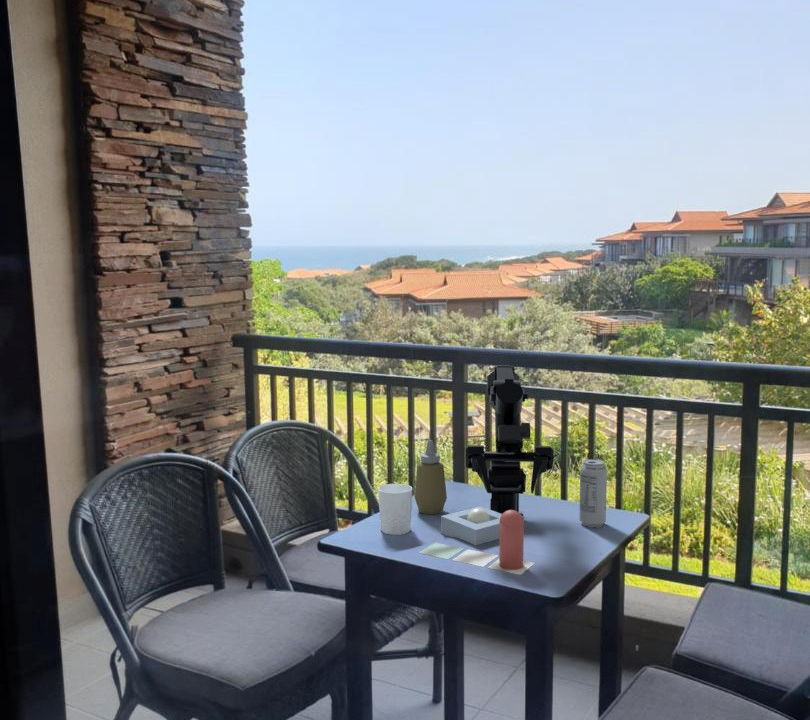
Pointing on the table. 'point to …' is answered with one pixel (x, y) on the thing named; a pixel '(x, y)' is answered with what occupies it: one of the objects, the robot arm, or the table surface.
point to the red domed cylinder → (511, 540)
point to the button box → (471, 526)
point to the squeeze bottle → (430, 482)
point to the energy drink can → (593, 493)
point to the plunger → (478, 516)
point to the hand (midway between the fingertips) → (510, 492)
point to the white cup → (395, 508)
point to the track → (470, 557)
